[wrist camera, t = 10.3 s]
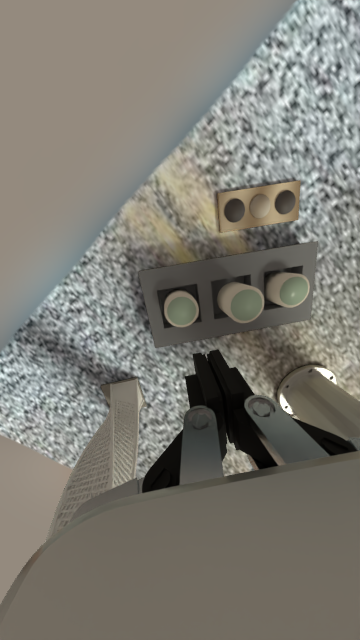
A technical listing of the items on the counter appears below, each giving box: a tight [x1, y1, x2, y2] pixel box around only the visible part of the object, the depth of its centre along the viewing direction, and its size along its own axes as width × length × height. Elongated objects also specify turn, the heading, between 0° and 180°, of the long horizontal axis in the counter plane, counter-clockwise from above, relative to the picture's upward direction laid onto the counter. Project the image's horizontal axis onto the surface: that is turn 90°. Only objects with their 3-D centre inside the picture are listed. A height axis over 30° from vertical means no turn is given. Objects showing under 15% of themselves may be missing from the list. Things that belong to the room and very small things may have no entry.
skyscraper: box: [46, 377, 146, 541], centre depth 21 cm, size 8×8×28 cm
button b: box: [217, 282, 264, 323], centre depth 24 cm, size 5×5×5 cm
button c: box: [164, 289, 199, 327], centre depth 26 cm, size 5×5×5 cm
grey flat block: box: [138, 241, 318, 348], centre depth 28 cm, size 26×12×4 cm, turn 99°
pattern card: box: [217, 181, 300, 233], centre depth 26 cm, size 12×5×1 cm, turn 99°
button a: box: [264, 272, 310, 308], centre depth 27 cm, size 5×5×5 cm
